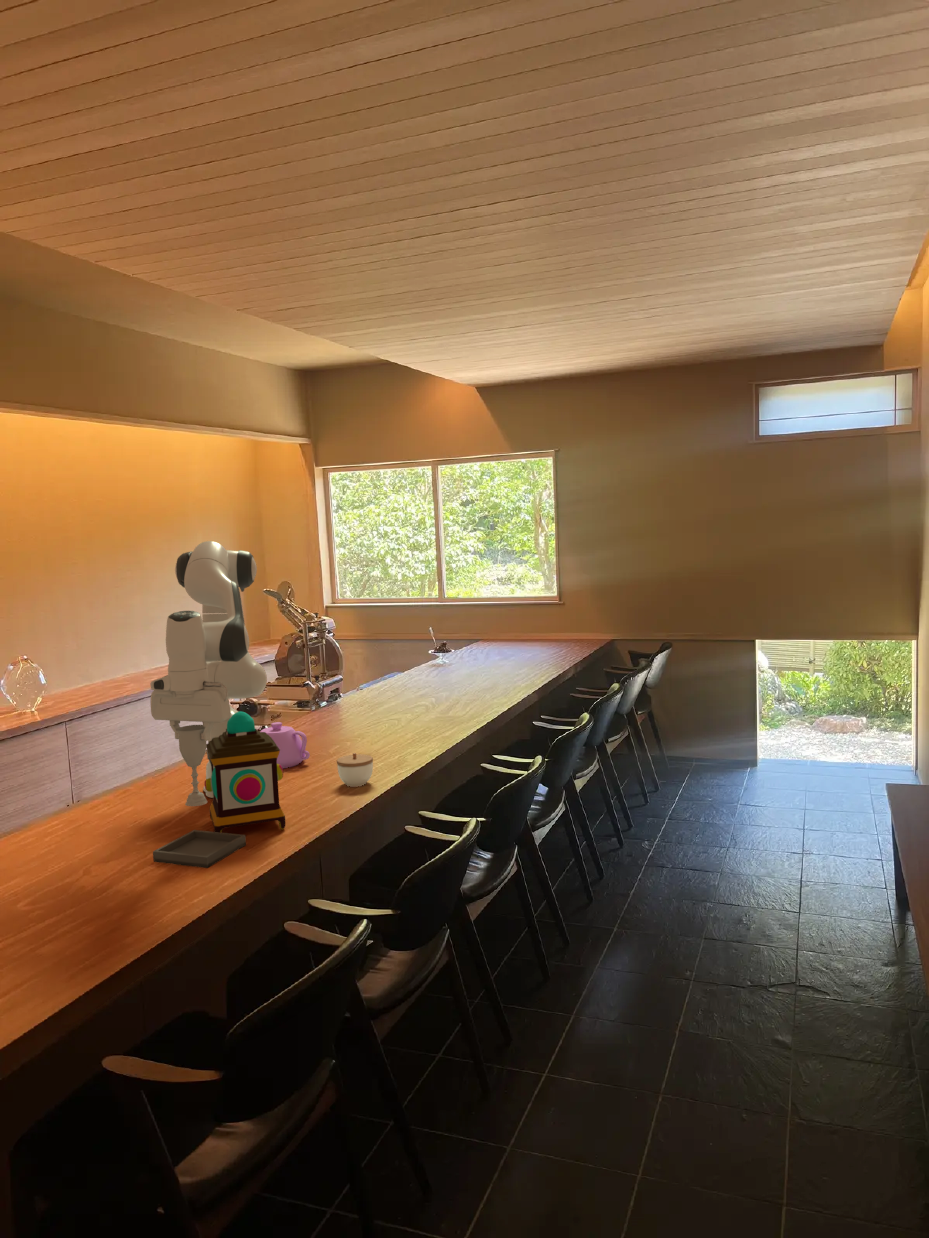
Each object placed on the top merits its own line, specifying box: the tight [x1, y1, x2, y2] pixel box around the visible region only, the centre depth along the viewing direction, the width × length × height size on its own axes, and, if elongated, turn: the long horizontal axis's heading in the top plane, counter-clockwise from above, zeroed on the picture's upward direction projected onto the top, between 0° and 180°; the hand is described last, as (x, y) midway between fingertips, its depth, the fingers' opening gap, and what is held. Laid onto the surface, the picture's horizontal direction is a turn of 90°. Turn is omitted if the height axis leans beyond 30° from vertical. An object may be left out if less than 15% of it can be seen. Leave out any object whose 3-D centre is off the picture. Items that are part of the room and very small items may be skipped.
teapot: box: [259, 721, 311, 770], centre depth 285 cm, size 25×18×14 cm
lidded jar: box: [336, 752, 374, 788], centre depth 257 cm, size 11×11×9 cm
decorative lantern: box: [204, 710, 286, 833], centre depth 222 cm, size 20×20×30 cm
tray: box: [152, 829, 247, 869], centre depth 204 cm, size 15×15×2 cm
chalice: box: [176, 724, 208, 807], centre depth 202 cm, size 7×7×18 cm
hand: (192, 739), depth 202 cm, fingers closed on chalice, 6 cm apart
